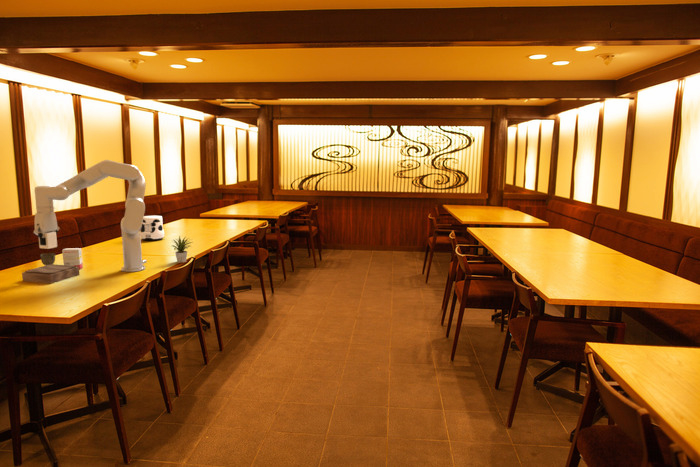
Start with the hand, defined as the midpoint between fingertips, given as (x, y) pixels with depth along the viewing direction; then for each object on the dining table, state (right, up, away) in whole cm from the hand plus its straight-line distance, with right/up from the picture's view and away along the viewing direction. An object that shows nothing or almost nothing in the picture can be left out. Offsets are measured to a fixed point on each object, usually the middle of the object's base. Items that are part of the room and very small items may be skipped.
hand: (48, 243), depth 240 cm
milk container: (+5, 0, +116) cm, 116 cm away
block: (0, -2, 0) cm, 2 cm away
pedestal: (0, -18, +3) cm, 19 cm away
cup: (-17, -15, +26) cm, 34 cm away
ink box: (-1, -15, +24) cm, 28 cm away
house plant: (+54, -13, +43) cm, 71 cm away
